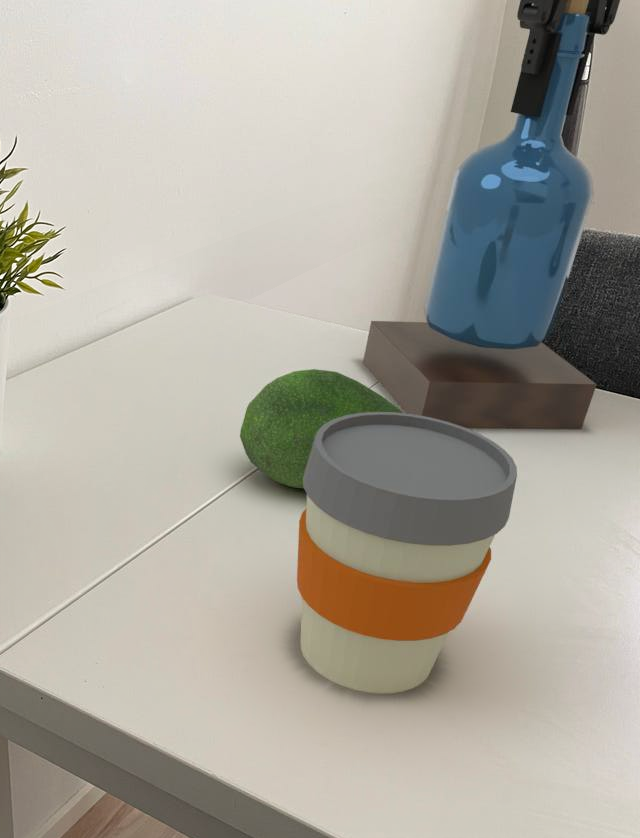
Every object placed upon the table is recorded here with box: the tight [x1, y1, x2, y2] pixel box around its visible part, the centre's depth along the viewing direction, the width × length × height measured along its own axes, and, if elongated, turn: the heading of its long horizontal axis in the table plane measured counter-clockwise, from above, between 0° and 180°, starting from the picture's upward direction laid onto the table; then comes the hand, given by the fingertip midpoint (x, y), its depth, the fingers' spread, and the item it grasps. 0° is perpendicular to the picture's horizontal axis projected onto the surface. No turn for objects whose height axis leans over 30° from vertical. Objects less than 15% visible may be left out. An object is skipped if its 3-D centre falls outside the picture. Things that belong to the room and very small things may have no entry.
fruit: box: [239, 368, 404, 489], centre depth 86 cm, size 15×10×10 cm, turn 81°
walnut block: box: [362, 320, 598, 430], centre depth 108 cm, size 18×18×5 cm
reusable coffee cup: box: [296, 412, 518, 695], centre depth 64 cm, size 13×13×15 cm
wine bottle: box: [423, 0, 595, 350], centre depth 97 cm, size 14×13×30 cm
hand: (541, 112), depth 93 cm, fingers closed on wine bottle, 4 cm apart
